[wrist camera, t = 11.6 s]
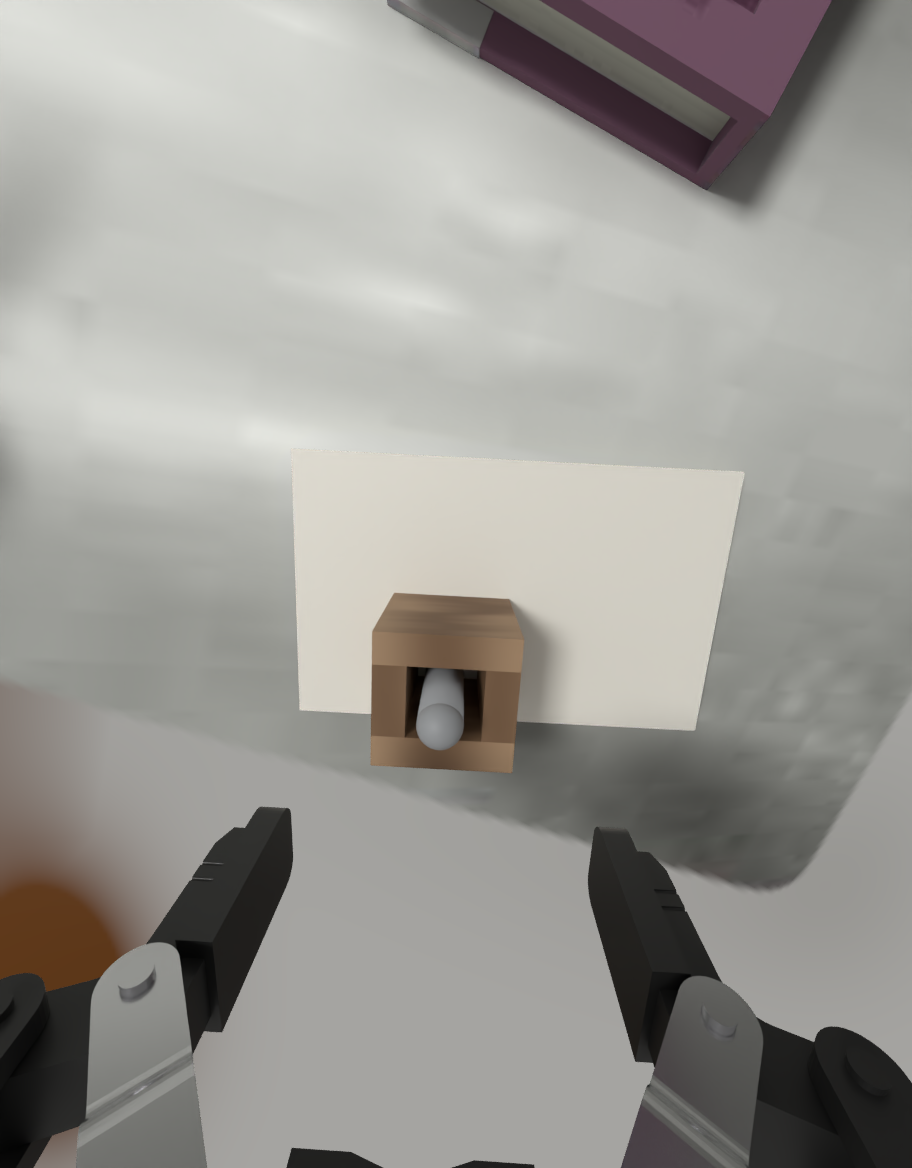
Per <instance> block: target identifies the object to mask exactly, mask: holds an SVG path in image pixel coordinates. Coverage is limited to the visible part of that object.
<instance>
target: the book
mask: <svg viewBox="0 0 912 1168" xmlns="http://www.w3.org/2000/svg"><path fill="white" fill-rule="evenodd" d="M831 1H832V0H387V3H388V6H390V7H392V8H393V9H395V10H397V11H399V12H400V13H402V14H404V15H405V16H407V17H409V18H410V19H412V20H414V21H416V22H417V23H419V24H421V25H422V26H424V27H426V28H428V29H429V30H431V31H433V32H434V33H436V34H438V35H439V36H441V37H443V38H445V39H446V40H448V41H450V42H451V43H453V44H455V45H456V46H458V47H460V48H462V49H463V50H465V51H467V52H468V53H470V54H472V55H474V56H475V57H477V58H479V57H480V58H482V59H484V60H485V61H487V62H489V63H491V64H492V65H494V66H496V67H497V68H499V69H501V70H502V71H504V72H506V73H508V74H509V75H511V76H513V77H514V78H516V79H518V80H519V81H521V82H523V83H525V84H526V85H528V86H530V87H531V88H533V89H535V90H537V91H538V92H540V93H542V94H543V95H545V96H547V97H548V98H550V99H552V100H554V101H555V102H557V103H559V104H560V105H562V106H564V107H565V108H567V109H569V110H571V111H572V112H574V113H576V114H577V115H579V116H581V117H583V118H584V119H586V120H588V121H589V122H591V123H593V124H594V125H596V126H598V127H600V128H601V129H603V130H605V131H606V132H608V133H610V134H611V135H613V136H615V137H617V138H618V139H620V140H622V141H623V142H625V143H627V144H629V145H630V146H632V147H634V148H635V149H637V150H639V151H640V152H642V153H644V154H646V155H647V156H649V157H651V158H652V159H654V160H656V161H657V162H659V163H661V164H663V165H664V166H666V167H668V168H669V169H671V170H673V171H674V172H676V173H678V174H680V175H681V176H683V177H685V178H686V179H688V180H690V181H692V182H693V183H695V184H697V185H698V186H700V187H702V188H703V189H705V190H707V189H708V188H709V187H710V185H711V184H712V183H713V182H714V181H715V180H716V179H717V177H718V176H719V175H720V174H721V173H722V172H723V170H724V169H725V168H726V167H727V166H728V165H729V164H730V162H731V161H732V160H733V159H734V158H735V157H736V155H737V154H738V153H739V152H740V151H741V150H742V149H743V147H744V146H745V145H746V144H747V143H748V142H749V140H750V139H751V138H752V137H753V136H754V135H755V133H756V132H757V131H758V130H759V129H760V128H761V127H762V125H763V124H764V123H765V122H766V121H767V120H768V118H769V117H770V116H771V114H772V112H773V110H774V108H775V106H776V105H777V103H778V101H779V99H780V97H781V95H782V93H783V91H784V90H785V88H786V86H787V84H788V82H789V80H790V78H791V76H792V74H793V73H794V71H795V69H796V67H797V65H798V63H799V61H800V59H801V57H802V56H803V54H804V52H805V50H806V48H807V46H808V44H809V42H810V40H811V39H812V37H813V35H814V33H815V31H816V29H817V27H818V25H819V23H820V22H821V20H822V18H823V16H824V14H825V12H826V10H827V8H828V7H829V5H830V3H831Z"/></svg>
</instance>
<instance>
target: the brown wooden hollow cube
mask: <svg viewBox="0 0 912 1168" xmlns="http://www.w3.org/2000/svg"><path fill="white" fill-rule="evenodd" d="M523 649H524V637H523V635H522V632H521V629H520V627H519V624H518V621H517V619H516V616H515V613H514V610H513V608H512V605H511V602H510V600H509V599H500V598H482V597H463V596H445V595H427V594H408V593H394V594H393V595H392V597H391V599H390V601H389V602H388V604H387V606H386V608H385V610H384V611H383V613H382V615H381V617H380V618H379V620H378V622H377V624H376V625H375V627H374V629H373V631H372V683H371V765H375V766H393V767H411V768H430V769H448V770H466V771H484V772H503V773H512V767H513V756H514V746H515V735H516V724H517V714H518V703H519V692H520V681H521V671H522V660H523ZM418 667H427V668H446V669H464V670H477V679H467V678H464V729H463V734H462V736H461V738H460V739H459V741H458V742H457V743H456V744H455V745H454V746H452V747H451V748H449V749H446V750H434V749H431V748H429V747H427V746H426V745H425V744H424V743H423V742H422V741H421V740H420V738H419V736H418V734H417V730H416V721H417V716H418V710H419V705H420V699H421V694H422V689H423V683H424V678H425V676H418Z"/></svg>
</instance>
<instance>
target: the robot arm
mask: <svg viewBox="0 0 912 1168" xmlns="http://www.w3.org/2000/svg"><path fill="white" fill-rule="evenodd" d="M292 862H293V846H292V826H291V812H290V809H288V808H275V807H259V808H258V809H257V810H256V812H255V813H254V815H253V816H252V818H251V819H250V821H249V823H248V824H247V826H246V827H245V828H235V827H234V828H233V829H232V830H231V831H229V832H228V833H227V834H226V835H225V836H223V837H222V838H221V839H220V840H218V841H217V842H216V843H215V844H214V846H213V847H212V849H211V850H210V852H209V853H208V855H207V856H206V858H205V859H204V861H203V864H202V865H200V866H199V868H198V869H197V871H196V872H195V874H194V875H193V878H192V880H191V881H189V883H188V884H187V885H186V887H185V888H184V890H183V891H182V893H181V894H180V896H179V897H178V899H177V900H176V902H175V903H174V904H173V906H172V907H171V909H170V910H169V912H168V913H167V915H166V917H165V918H164V919H163V921H162V922H161V924H160V925H159V927H158V928H157V929H156V931H155V932H154V934H153V935H152V937H151V938H150V940H149V941H148V942H147V944H146V945H143V946H140V947H138V948H135V949H134V950H132V951H130V952H128V953H127V954H125V955H123V956H122V957H121V958H120V959H118V960H117V961H116V962H114V963H113V964H112V965H111V966H110V967H109V968H108V969H107V970H106V972H105V973H104V974H103V975H102V977H100V978H97V979H94V980H91V981H87V982H83V983H79V984H75V985H72V986H68V987H64V988H60V989H56V990H52V991H48V992H46V990H45V985H44V982H43V980H42V979H41V978H40V977H39V976H38V975H35V974H30V973H23V974H16V975H12V976H9V977H6V978H3V979H1V980H0V1168H33V1167H34V1166H35V1164H36V1162H37V1160H38V1159H39V1157H40V1155H41V1154H42V1152H43V1150H44V1149H45V1147H46V1145H47V1143H48V1142H49V1140H50V1138H51V1137H52V1135H55V1134H58V1133H61V1132H64V1131H66V1130H69V1129H72V1128H75V1127H78V1126H80V1127H79V1133H78V1142H77V1159H76V1168H207V1163H206V1155H205V1147H204V1140H203V1132H202V1125H201V1117H200V1109H199V1101H198V1094H197V1087H196V1078H195V1071H194V1063H193V1057H192V1056H193V1053H194V1050H195V1049H196V1046H197V1044H198V1042H199V1040H200V1038H201V1035H202V1034H203V1032H204V1031H209V1032H222V1031H223V1029H224V1027H225V1024H226V1022H227V1020H228V1017H229V1015H230V1013H231V1011H232V1008H233V1006H234V1004H235V1002H236V999H237V997H238V995H239V993H240V990H241V988H242V986H243V983H244V981H245V979H246V976H247V974H248V972H249V970H250V967H251V965H252V963H253V961H254V958H255V956H256V954H257V952H258V949H259V947H260V945H261V943H262V940H263V938H264V936H265V934H266V931H267V929H268V927H269V924H270V922H271V920H272V918H273V915H274V913H275V911H276V908H277V906H278V904H279V902H280V899H281V897H282V895H283V893H284V890H285V888H286V886H287V883H288V881H289V877H290V874H291V869H292ZM588 889H589V897H590V902H591V906H592V909H593V913H594V917H595V920H596V924H597V927H598V931H599V934H600V938H601V941H602V945H603V949H604V952H605V956H606V959H607V963H608V966H609V970H610V973H611V977H612V980H613V984H614V987H615V991H616V995H617V998H618V1002H619V1005H620V1009H621V1012H622V1016H623V1019H624V1023H625V1027H626V1030H627V1033H628V1037H629V1041H630V1044H631V1048H632V1051H633V1055H634V1059H635V1061H636V1062H650V1063H653V1064H654V1067H655V1069H654V1072H653V1075H652V1079H651V1081H650V1084H649V1085H648V1086H647V1087H646V1090H645V1093H644V1096H643V1099H642V1102H641V1105H640V1108H639V1111H638V1115H637V1118H636V1121H635V1124H634V1127H633V1131H632V1134H631V1137H630V1140H629V1143H628V1147H627V1150H626V1153H625V1156H624V1159H623V1163H622V1166H621V1168H912V1083H911V1081H910V1080H909V1079H908V1077H907V1076H906V1075H905V1073H904V1072H903V1071H902V1070H901V1068H900V1067H899V1066H898V1065H897V1064H896V1063H895V1062H894V1061H893V1060H892V1059H891V1058H890V1057H889V1056H888V1055H887V1054H886V1053H884V1051H882V1050H881V1049H880V1048H879V1047H877V1046H876V1045H875V1044H873V1043H872V1042H870V1041H869V1040H867V1039H866V1038H864V1037H863V1036H861V1035H859V1034H857V1033H854V1032H853V1031H850V1030H847V1029H844V1028H840V1027H826V1028H823V1029H822V1030H820V1031H819V1032H818V1034H817V1036H816V1038H815V1042H812V1041H810V1040H807V1039H805V1038H802V1037H800V1036H797V1035H794V1034H792V1033H789V1032H787V1031H784V1030H782V1029H779V1028H777V1027H774V1026H772V1025H770V1024H768V1023H765V1022H764V1021H762V1020H760V1019H759V1018H757V1017H756V1016H755V1014H754V1013H753V1011H752V1010H751V1008H750V1007H749V1006H748V1004H747V1003H746V1002H745V1001H744V1000H743V999H742V998H741V997H740V996H739V995H738V994H737V993H736V992H735V991H733V990H732V989H731V988H730V987H728V986H727V985H725V984H723V983H722V981H721V980H720V978H719V976H718V974H717V972H716V970H715V968H714V966H713V964H712V962H711V960H710V958H709V956H708V954H707V952H706V950H705V948H704V946H703V944H702V942H701V940H700V938H699V936H698V934H697V931H696V929H695V927H694V926H693V923H692V921H691V919H690V917H689V915H688V913H687V912H685V908H684V905H683V903H682V901H681V899H680V897H679V895H677V894H676V889H675V887H674V885H673V883H672V881H671V879H670V877H669V875H668V873H667V871H666V870H665V868H664V867H663V866H662V865H661V864H660V863H659V862H658V861H657V860H656V859H655V858H654V857H653V856H652V855H651V854H650V853H649V852H637V850H636V848H635V846H634V843H633V841H632V839H631V837H630V834H629V832H628V831H627V830H626V829H625V828H609V827H596V828H595V830H594V836H593V843H592V850H591V858H590V865H589V873H588ZM287 1168H382V1167H380V1166H378V1165H376V1164H374V1163H372V1162H370V1161H368V1160H366V1159H364V1158H362V1157H360V1156H358V1155H356V1154H354V1153H352V1152H343V1151H329V1150H328V1151H327V1150H313V1149H300V1148H292V1149H291V1153H290V1157H289V1160H288V1164H287ZM453 1168H534V1165H531V1164H516V1163H502V1162H488V1161H471V1162H468V1163H465V1164H462V1165H459V1166H456V1167H453Z"/></svg>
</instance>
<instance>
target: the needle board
mask: <svg viewBox="0 0 912 1168" xmlns="http://www.w3.org/2000/svg"><path fill="white" fill-rule="evenodd" d="M291 458H292V489H293V519H294V549H295V579H296V610H297V640H298V670H299V700H300V710H305V711H325V712H344V713H363V714H371V683H372V631H373V629H374V627H375V625H376V624H377V622H378V620H379V618H380V617H381V615H382V613H383V611H384V610H385V608H386V606H387V604H388V602H389V601H390V599H391V597H392V595H393V594H394V593H408V594H427V595H445V596H463V597H482V598H500V599H509V600H510V602H511V605H512V608H513V610H514V613H515V616H516V619H517V621H518V624H519V627H520V629H521V632H522V635H523V637H524V649H523V660H522V671H521V681H520V692H519V703H518V714H517V722H536V723H555V724H574V725H593V726H612V727H631V728H651V729H670V730H689V731H695V728H696V723H697V717H698V712H699V707H700V702H701V697H702V691H703V686H704V681H705V676H706V671H707V665H708V660H709V655H710V650H711V645H712V639H713V634H714V629H715V624H716V619H717V613H718V608H719V603H720V598H721V593H722V587H723V582H724V577H725V572H726V567H727V562H728V556H729V551H730V546H731V541H732V536H733V530H734V525H735V520H736V515H737V510H738V504H739V499H740V494H741V489H742V484H743V478H744V473H745V472H737V471H718V470H698V469H679V468H659V467H640V466H621V465H601V464H582V463H562V462H543V461H523V460H504V459H485V458H465V457H446V456H426V455H407V454H388V453H368V452H349V451H329V450H310V449H291ZM418 676H425V678H424V683H423V689H422V694H421V699H420V705H419V710H418V716H417V721H416V730H417V734H418V736H419V738H420V740H421V741H422V742H423V743H424V744H425V745H426V746H427V747H429V748H431V749H434V750H446V749H449V748H451V747H452V746H454V745H455V744H456V743H457V742H458V741H459V739H460V738H461V736H462V734H463V729H464V678H467V679H477V670H464V669H446V668H427V667H418Z"/></svg>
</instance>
